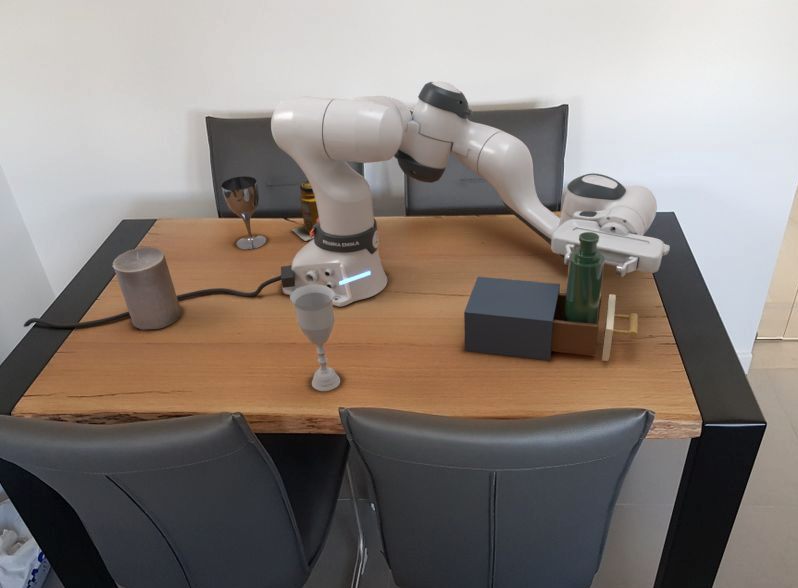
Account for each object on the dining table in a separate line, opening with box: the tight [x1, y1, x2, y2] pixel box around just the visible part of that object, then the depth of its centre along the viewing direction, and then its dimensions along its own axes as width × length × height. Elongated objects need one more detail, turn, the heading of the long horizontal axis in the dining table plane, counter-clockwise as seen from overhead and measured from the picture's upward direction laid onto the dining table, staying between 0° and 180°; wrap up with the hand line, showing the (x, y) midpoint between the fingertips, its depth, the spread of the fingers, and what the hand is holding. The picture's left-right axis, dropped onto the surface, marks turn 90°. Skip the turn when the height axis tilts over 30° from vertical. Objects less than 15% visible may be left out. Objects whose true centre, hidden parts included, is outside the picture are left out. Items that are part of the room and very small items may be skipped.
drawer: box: [551, 292, 639, 362], centre depth 129 cm, size 19×11×7 cm, turn 75°
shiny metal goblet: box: [221, 175, 267, 250], centre depth 167 cm, size 8×8×15 cm
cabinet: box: [463, 276, 561, 361], centre depth 132 cm, size 16×13×9 cm
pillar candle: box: [112, 246, 182, 331], centre depth 141 cm, size 10×10×15 cm
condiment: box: [291, 180, 319, 242], centre depth 171 cm, size 7×8×12 cm
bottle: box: [564, 232, 605, 324], centre depth 125 cm, size 6×6×20 cm
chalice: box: [289, 285, 341, 392], centre depth 121 cm, size 7×7×18 cm
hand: (593, 266), depth 127 cm, fingers open, 8 cm apart
